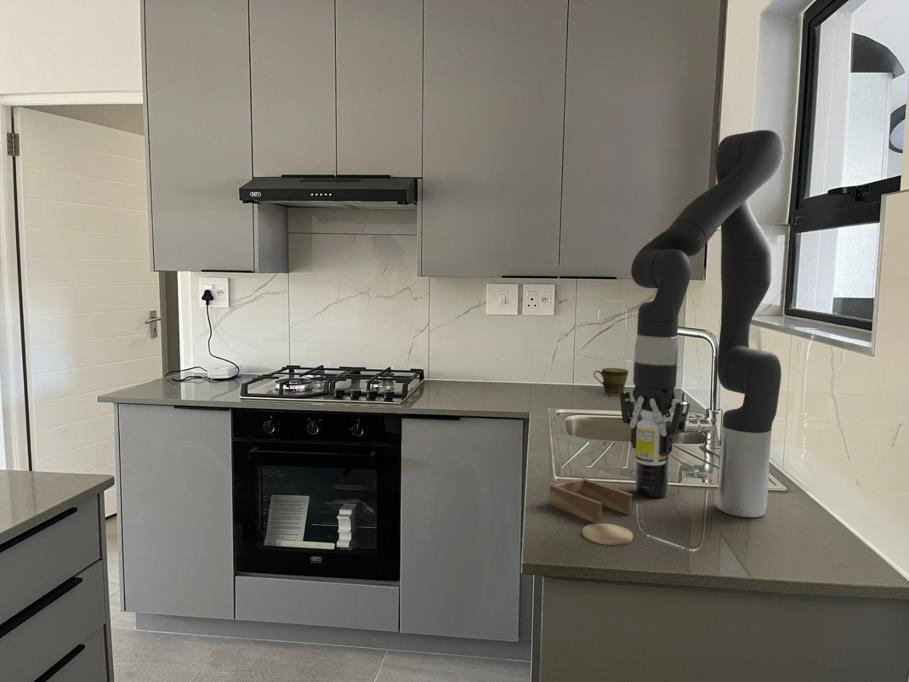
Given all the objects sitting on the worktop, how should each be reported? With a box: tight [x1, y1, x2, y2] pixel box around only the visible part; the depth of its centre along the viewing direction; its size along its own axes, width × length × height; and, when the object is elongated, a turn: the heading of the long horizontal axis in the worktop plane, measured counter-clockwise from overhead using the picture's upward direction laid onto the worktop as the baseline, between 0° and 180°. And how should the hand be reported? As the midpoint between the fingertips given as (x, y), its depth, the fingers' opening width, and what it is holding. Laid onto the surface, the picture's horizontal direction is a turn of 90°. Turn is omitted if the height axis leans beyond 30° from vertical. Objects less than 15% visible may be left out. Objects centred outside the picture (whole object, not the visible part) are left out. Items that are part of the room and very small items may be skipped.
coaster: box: [582, 523, 634, 546], centre depth 129 cm, size 9×9×1 cm
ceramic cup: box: [593, 367, 629, 397], centre depth 273 cm, size 13×10×10 cm
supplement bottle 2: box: [634, 455, 670, 499], centre depth 154 cm, size 7×7×12 cm
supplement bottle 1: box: [635, 409, 666, 466], centre depth 129 cm, size 5×5×10 cm
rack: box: [548, 477, 633, 524], centre depth 143 cm, size 10×13×4 cm
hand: (650, 451), depth 130 cm, fingers closed on supplement bottle 1, 5 cm apart
